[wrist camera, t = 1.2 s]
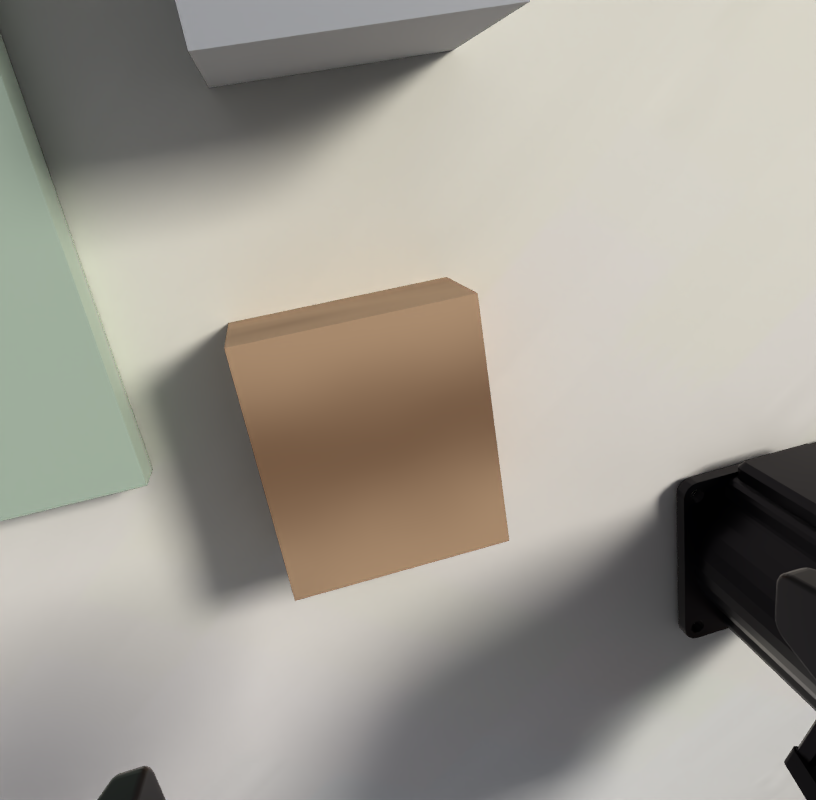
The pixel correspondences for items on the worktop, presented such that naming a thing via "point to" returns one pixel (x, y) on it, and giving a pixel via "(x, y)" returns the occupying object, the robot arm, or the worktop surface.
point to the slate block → (324, 33)
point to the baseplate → (52, 345)
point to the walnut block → (372, 431)
